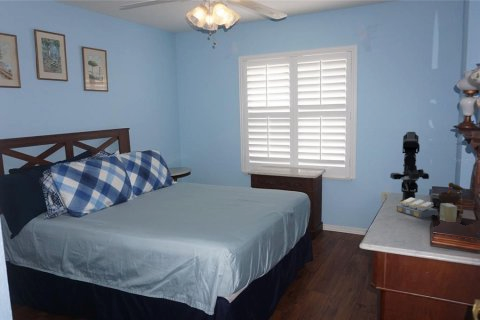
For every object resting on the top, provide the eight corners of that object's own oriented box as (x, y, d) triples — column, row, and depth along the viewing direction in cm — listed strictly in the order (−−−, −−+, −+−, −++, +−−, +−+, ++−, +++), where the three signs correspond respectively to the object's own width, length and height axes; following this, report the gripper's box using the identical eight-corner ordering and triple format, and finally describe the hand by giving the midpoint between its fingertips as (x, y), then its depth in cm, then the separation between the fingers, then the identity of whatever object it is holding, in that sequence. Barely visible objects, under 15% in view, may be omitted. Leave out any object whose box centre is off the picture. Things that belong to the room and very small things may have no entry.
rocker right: (417, 209, 191) (416, 206, 191) (428, 204, 194) (427, 201, 193) (422, 211, 188) (422, 208, 187) (433, 205, 191) (433, 202, 190)
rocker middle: (408, 207, 196) (408, 204, 196) (419, 202, 199) (419, 199, 198) (414, 208, 193) (413, 205, 193) (424, 203, 196) (424, 200, 195)
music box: (464, 219, 182) (467, 181, 178) (465, 227, 173) (468, 187, 169) (430, 216, 190) (432, 179, 186) (429, 223, 180) (431, 185, 176)
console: (396, 210, 201) (396, 203, 201) (412, 208, 206) (412, 201, 205) (420, 218, 187) (420, 210, 186) (437, 215, 191) (437, 207, 191)
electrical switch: (450, 210, 200) (450, 194, 198) (449, 213, 196) (450, 197, 194) (431, 208, 205) (431, 192, 204) (430, 211, 201) (430, 195, 199)
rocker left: (400, 204, 201) (400, 201, 201) (411, 199, 204) (410, 197, 203) (405, 206, 198) (405, 203, 198) (416, 201, 201) (416, 198, 200)
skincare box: (438, 228, 170) (439, 203, 169) (447, 227, 171) (448, 202, 169) (447, 232, 164) (448, 206, 162) (456, 232, 164) (457, 206, 163)
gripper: (397, 165, 189) (397, 194, 191) (434, 165, 187) (433, 194, 190) (390, 162, 200) (389, 190, 202) (424, 162, 199) (423, 189, 201)
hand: (408, 191), depth 198 cm, fingers closed
